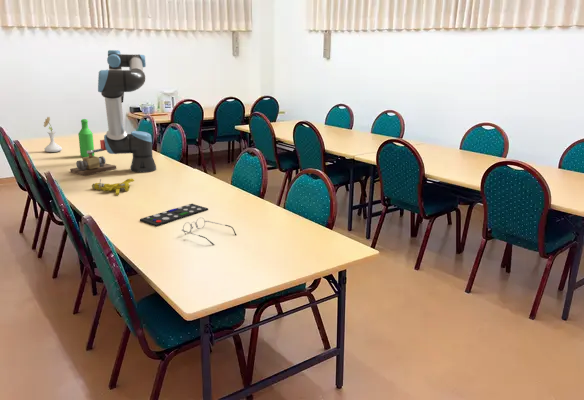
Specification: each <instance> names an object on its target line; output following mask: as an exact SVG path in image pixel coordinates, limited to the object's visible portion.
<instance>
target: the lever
mask: <svg viewBox="0 0 584 400" xmlns="http://www.w3.org/2000/svg"><path fill="white" fill-rule="evenodd" d="M99 143H100V144H99V146H100V148H97V149H96V148H95V149H94V150H87V154H93V153H94V154H95V153H100V152H103V151H104V152H105V151H107V150H106V147H105V141H104V139H99Z"/></svg>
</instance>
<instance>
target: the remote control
mask: <svg viewBox="0 0 584 400" xmlns="http://www.w3.org/2000/svg"><path fill="white" fill-rule="evenodd" d="M206 211H209V208H207V207H204V206H201V205H199V204H198V205H197V204H195V203H189V204H185V205H182V206H179V207H176V208H175V207H174V208H171V209H167V210H166V211H162V212H159V213H155V214H152V215H148V216H145V217H142V218H140V219H139V222H142V223H145V224H147V225H150V226H152V227H160V226H163V225H167V224H170V223H172V222H175V221H178V220H182V219H185V218H189V217H191V216H194V215H197V214H201V213H204V212H206Z"/></svg>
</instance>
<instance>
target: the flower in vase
mask: <svg viewBox="0 0 584 400" xmlns="http://www.w3.org/2000/svg"><path fill="white" fill-rule="evenodd" d="M50 121H51V117H50V116H47V117H46V118H45V121H44V122H43V127H44V128H46V127H47V126H48V125H49V126H48V130H50V131H46V132H47V134H48V135H49V139H50V142H49V143H48V144H47V145H46V146H45V148H44V151H45V152H48V153H57V152H61V151H62V150H63V147H62V146H61V145H59V144H58V143H56V142H55V133H56V131H53V127H52V124H51V123H50Z"/></svg>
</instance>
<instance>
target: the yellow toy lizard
mask: <svg viewBox="0 0 584 400" xmlns="http://www.w3.org/2000/svg"><path fill="white" fill-rule="evenodd" d="M101 180H102V179H101V178H100V179H99V182H96V183H92V185H91V188H92V189H93V190H96V189H97V190H98V191H99V192H101V191H103V192H112V190H115V195H116V196H120V191H125V192H128V191H129V190H130V183H132V182H135V179H134V178H127V179H125V180H124V181H122V182H118V183H113V184H112V183H111V184H110V183H103V182H101Z"/></svg>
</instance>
